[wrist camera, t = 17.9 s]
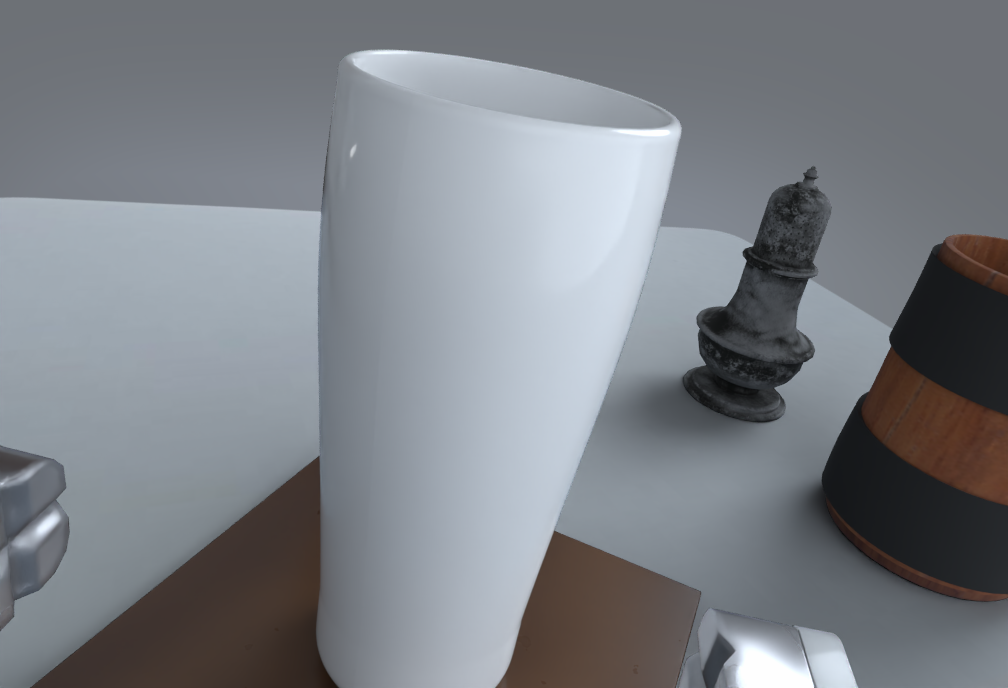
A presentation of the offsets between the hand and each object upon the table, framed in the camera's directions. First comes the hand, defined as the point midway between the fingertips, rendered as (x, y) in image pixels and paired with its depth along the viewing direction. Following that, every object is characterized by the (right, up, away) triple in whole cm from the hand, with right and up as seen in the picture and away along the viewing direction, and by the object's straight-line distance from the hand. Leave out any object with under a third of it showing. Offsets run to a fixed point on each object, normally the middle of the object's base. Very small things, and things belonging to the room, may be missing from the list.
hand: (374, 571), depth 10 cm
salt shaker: (+13, 0, +31) cm, 34 cm away
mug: (+20, -5, +23) cm, 31 cm away
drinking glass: (-1, -6, +12) cm, 13 cm away
